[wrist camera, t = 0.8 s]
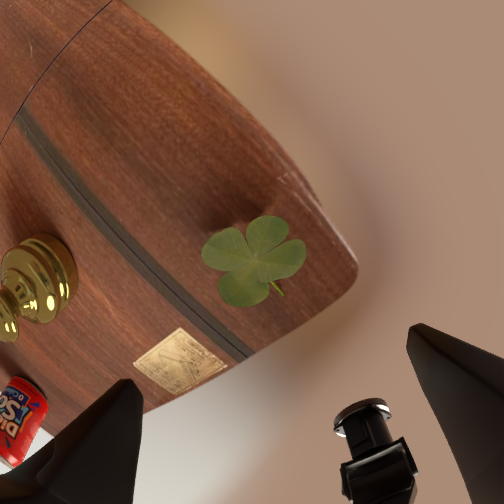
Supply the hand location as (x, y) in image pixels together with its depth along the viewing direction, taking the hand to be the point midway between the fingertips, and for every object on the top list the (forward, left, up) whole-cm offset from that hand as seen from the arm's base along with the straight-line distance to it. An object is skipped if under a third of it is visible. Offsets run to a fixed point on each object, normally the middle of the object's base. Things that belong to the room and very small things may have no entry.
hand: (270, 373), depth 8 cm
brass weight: (+13, +15, -14) cm, 24 cm away
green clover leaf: (-1, +2, -14) cm, 15 cm away
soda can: (+11, +42, -14) cm, 46 cm away
